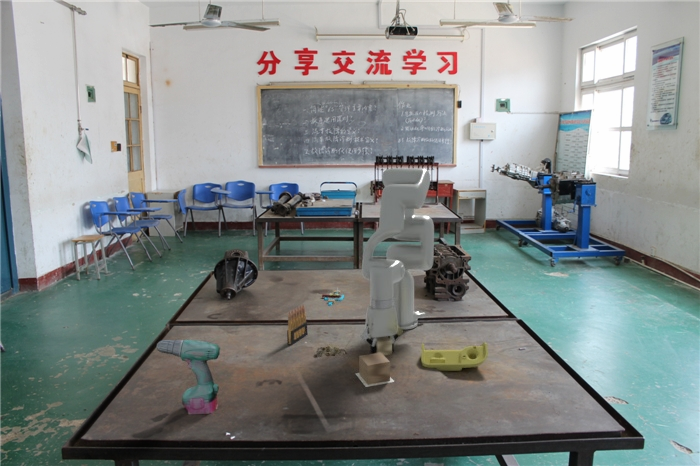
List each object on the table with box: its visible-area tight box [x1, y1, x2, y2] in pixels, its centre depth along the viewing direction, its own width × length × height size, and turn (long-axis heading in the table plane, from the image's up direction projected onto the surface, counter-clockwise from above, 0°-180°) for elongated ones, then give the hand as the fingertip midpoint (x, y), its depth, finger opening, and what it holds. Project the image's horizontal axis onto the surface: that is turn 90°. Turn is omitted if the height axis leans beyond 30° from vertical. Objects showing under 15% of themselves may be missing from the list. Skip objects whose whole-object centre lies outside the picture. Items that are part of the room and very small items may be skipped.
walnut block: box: [358, 352, 391, 385], centre depth 156 cm, size 7×7×6 cm
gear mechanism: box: [321, 287, 345, 306], centre depth 235 cm, size 20×5×9 cm
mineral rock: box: [316, 344, 348, 358], centre depth 175 cm, size 11×4×8 cm
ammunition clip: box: [286, 303, 308, 346], centre depth 188 cm, size 11×2×12 cm, turn 153°
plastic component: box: [420, 342, 489, 372], centre depth 166 cm, size 20×8×10 cm
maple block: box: [376, 336, 393, 357], centre depth 174 cm, size 5×5×6 cm
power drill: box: [156, 339, 221, 415], centre depth 141 cm, size 7×16×20 cm, turn 95°
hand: (382, 354), depth 174 cm, fingers closed on maple block, 5 cm apart
